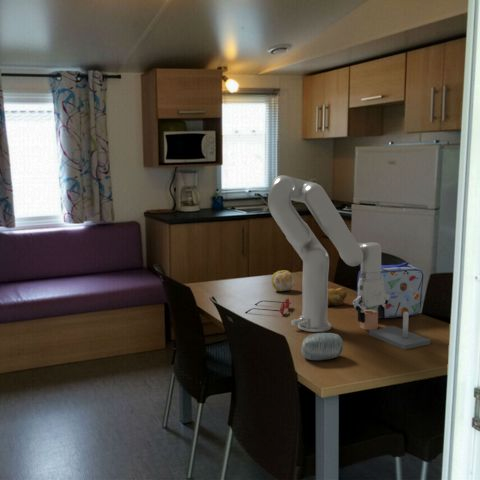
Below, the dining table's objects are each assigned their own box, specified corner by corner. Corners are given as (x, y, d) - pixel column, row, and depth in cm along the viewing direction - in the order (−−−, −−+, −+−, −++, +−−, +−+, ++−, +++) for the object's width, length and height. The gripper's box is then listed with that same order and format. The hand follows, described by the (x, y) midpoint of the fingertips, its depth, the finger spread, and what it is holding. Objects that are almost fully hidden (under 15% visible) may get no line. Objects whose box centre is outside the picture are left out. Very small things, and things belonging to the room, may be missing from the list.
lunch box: (412, 309, 242) (414, 258, 239) (426, 316, 232) (429, 262, 229) (353, 315, 235) (354, 262, 231) (365, 322, 225) (367, 267, 222)
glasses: (283, 317, 233) (283, 305, 232) (244, 314, 239) (244, 302, 238) (291, 308, 246) (291, 297, 245) (254, 305, 252) (254, 294, 251)
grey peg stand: (404, 349, 194) (405, 318, 192) (368, 334, 209) (369, 305, 208) (430, 343, 199) (431, 313, 198) (393, 329, 215) (394, 301, 213)
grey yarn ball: (338, 340, 193) (336, 320, 187) (348, 362, 186) (346, 341, 179) (299, 351, 192) (296, 331, 186) (307, 373, 185) (304, 353, 179)
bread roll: (323, 309, 244) (323, 290, 243) (312, 303, 253) (312, 285, 252) (349, 305, 249) (349, 287, 248) (337, 300, 258) (337, 283, 257)
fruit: (267, 290, 277) (267, 269, 276) (287, 287, 282) (287, 267, 280) (277, 294, 268) (278, 273, 267) (297, 292, 273) (298, 271, 271)
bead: (367, 330, 214) (368, 315, 213) (356, 326, 220) (356, 311, 219) (381, 328, 217) (381, 313, 216) (369, 323, 223) (370, 308, 222)
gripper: (359, 280, 208) (360, 326, 210) (395, 274, 216) (395, 318, 218) (346, 277, 214) (347, 321, 217) (381, 270, 222) (382, 313, 225)
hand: (371, 319), depth 218 cm, fingers open, 9 cm apart
